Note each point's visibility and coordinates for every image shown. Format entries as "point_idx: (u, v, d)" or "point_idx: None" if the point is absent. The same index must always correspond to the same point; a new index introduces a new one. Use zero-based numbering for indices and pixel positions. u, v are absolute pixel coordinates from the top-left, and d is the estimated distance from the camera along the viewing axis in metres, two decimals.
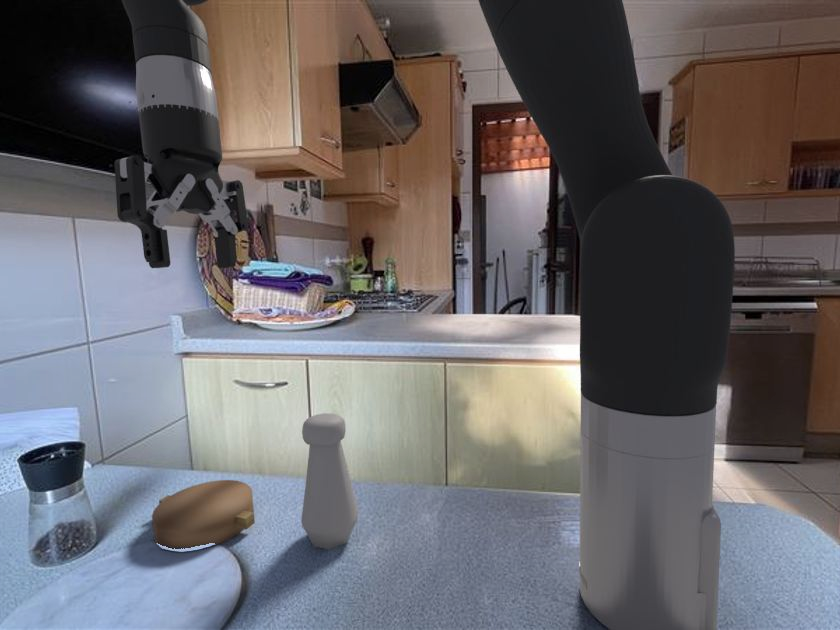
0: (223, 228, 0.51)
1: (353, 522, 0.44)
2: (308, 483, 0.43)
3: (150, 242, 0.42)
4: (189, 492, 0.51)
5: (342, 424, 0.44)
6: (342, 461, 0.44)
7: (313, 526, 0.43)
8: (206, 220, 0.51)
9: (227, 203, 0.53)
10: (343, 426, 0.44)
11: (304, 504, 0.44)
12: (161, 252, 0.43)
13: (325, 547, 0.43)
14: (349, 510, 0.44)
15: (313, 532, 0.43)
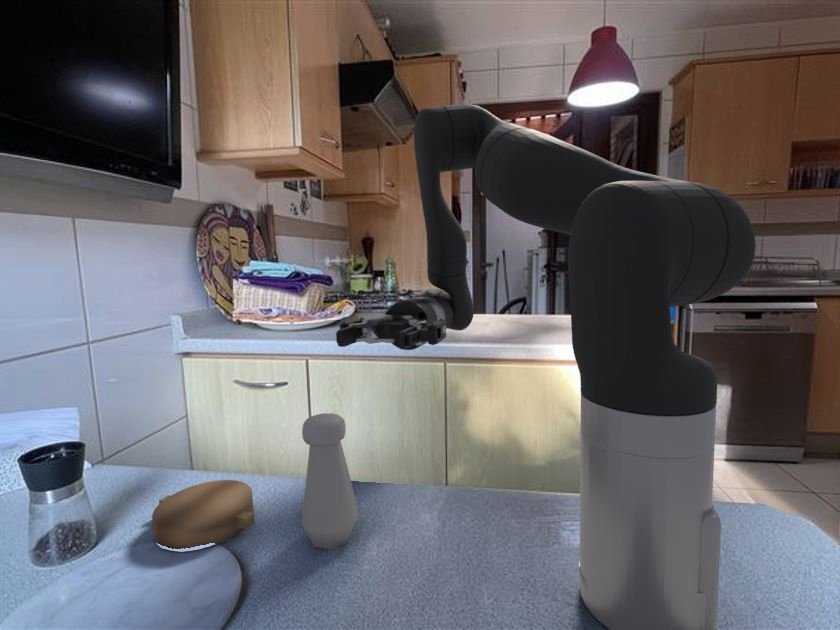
0: None
1: (353, 522, 0.44)
2: (308, 483, 0.43)
3: None
4: (189, 492, 0.51)
5: (342, 424, 0.44)
6: (342, 461, 0.44)
7: (313, 526, 0.43)
8: None
9: None
10: (343, 426, 0.44)
11: (304, 504, 0.44)
12: None
13: (325, 547, 0.43)
14: (349, 510, 0.44)
15: (313, 532, 0.43)
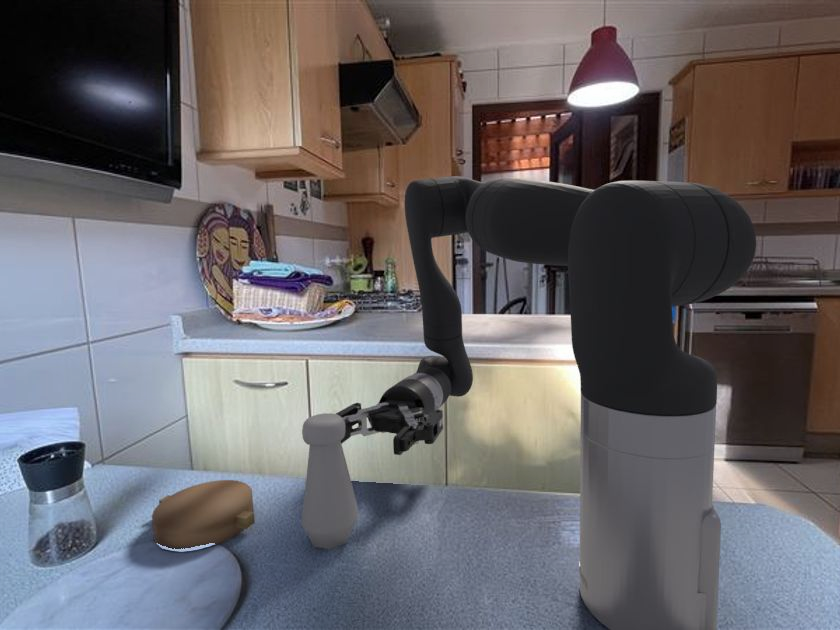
0: None
1: (353, 522, 0.44)
2: (308, 483, 0.43)
3: None
4: (189, 492, 0.51)
5: (342, 424, 0.44)
6: (342, 461, 0.44)
7: (313, 526, 0.43)
8: None
9: None
10: (343, 426, 0.44)
11: (304, 504, 0.44)
12: None
13: (325, 547, 0.43)
14: (349, 510, 0.44)
15: (313, 532, 0.43)
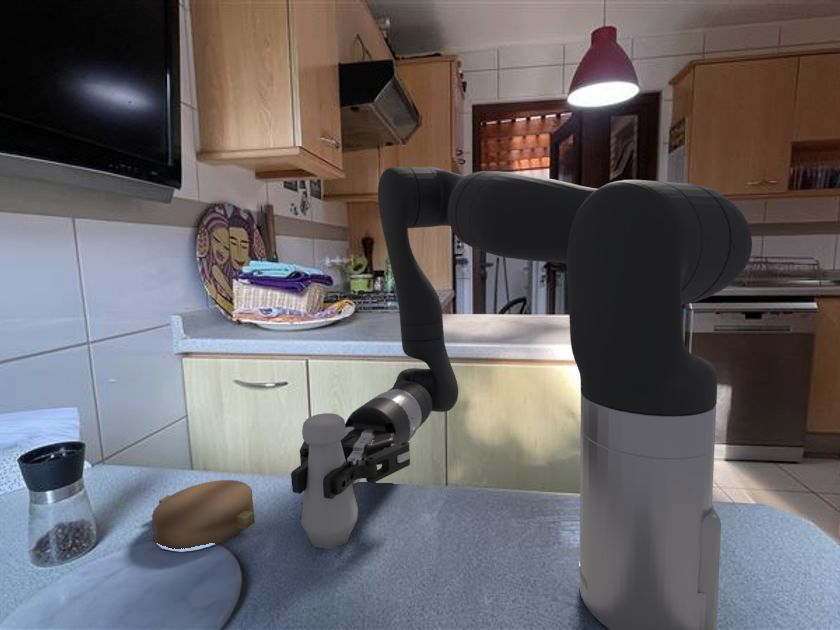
0: None
1: (353, 522, 0.44)
2: (308, 483, 0.43)
3: None
4: (189, 492, 0.51)
5: (342, 424, 0.44)
6: (342, 461, 0.44)
7: (313, 526, 0.43)
8: None
9: None
10: (343, 426, 0.44)
11: (304, 504, 0.44)
12: None
13: (325, 547, 0.43)
14: (349, 510, 0.44)
15: (313, 532, 0.43)
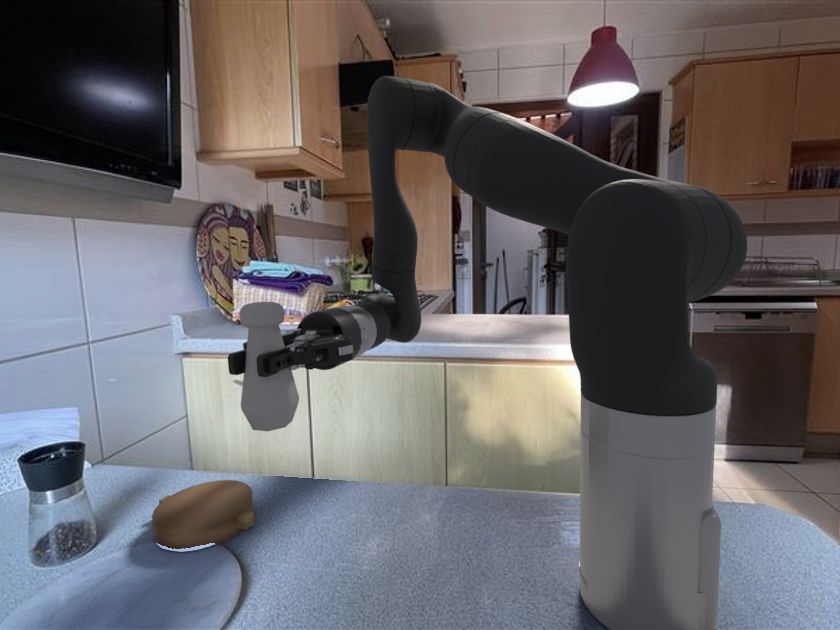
0: None
1: (291, 406, 0.45)
2: (246, 366, 0.44)
3: None
4: (189, 492, 0.51)
5: (278, 308, 0.44)
6: (280, 346, 0.45)
7: (249, 406, 0.43)
8: None
9: None
10: (280, 311, 0.44)
11: (242, 388, 0.45)
12: None
13: (263, 429, 0.44)
14: (286, 393, 0.44)
15: (250, 412, 0.43)
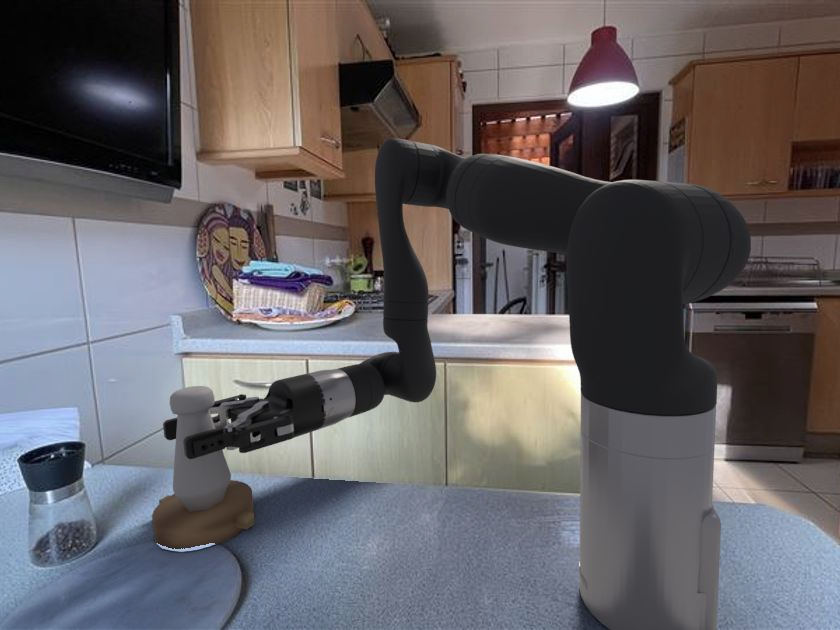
0: None
1: (210, 491, 0.46)
2: None
3: None
4: None
5: (200, 397, 0.46)
6: None
7: (173, 487, 0.46)
8: None
9: None
10: (202, 399, 0.46)
11: None
12: None
13: (187, 509, 0.47)
14: (204, 479, 0.46)
15: (174, 492, 0.46)
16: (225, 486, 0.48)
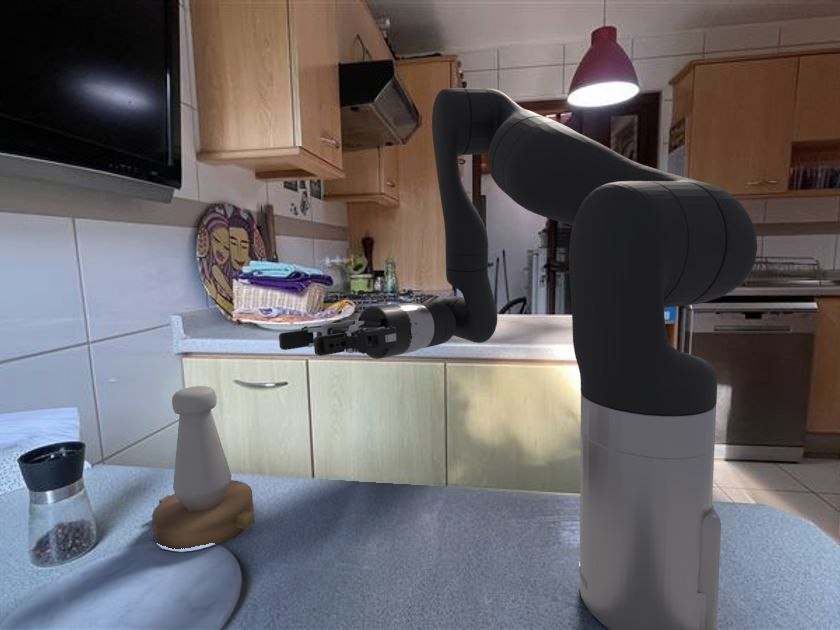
0: None
1: (210, 492, 0.46)
2: (177, 447, 0.47)
3: None
4: None
5: (202, 397, 0.46)
6: (205, 433, 0.47)
7: (174, 487, 0.46)
8: None
9: None
10: (204, 399, 0.46)
11: None
12: None
13: (187, 509, 0.47)
14: (205, 479, 0.46)
15: None
16: (225, 487, 0.48)
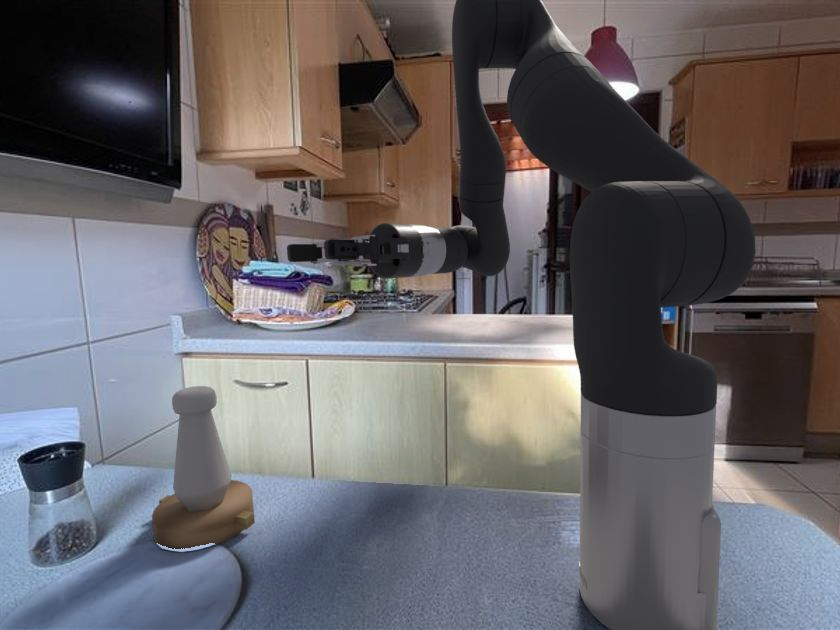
0: None
1: (210, 492, 0.46)
2: (177, 447, 0.47)
3: None
4: None
5: (202, 397, 0.46)
6: (205, 433, 0.47)
7: (174, 487, 0.46)
8: None
9: None
10: (204, 399, 0.46)
11: None
12: None
13: (187, 509, 0.47)
14: (205, 479, 0.46)
15: None
16: (225, 487, 0.48)
